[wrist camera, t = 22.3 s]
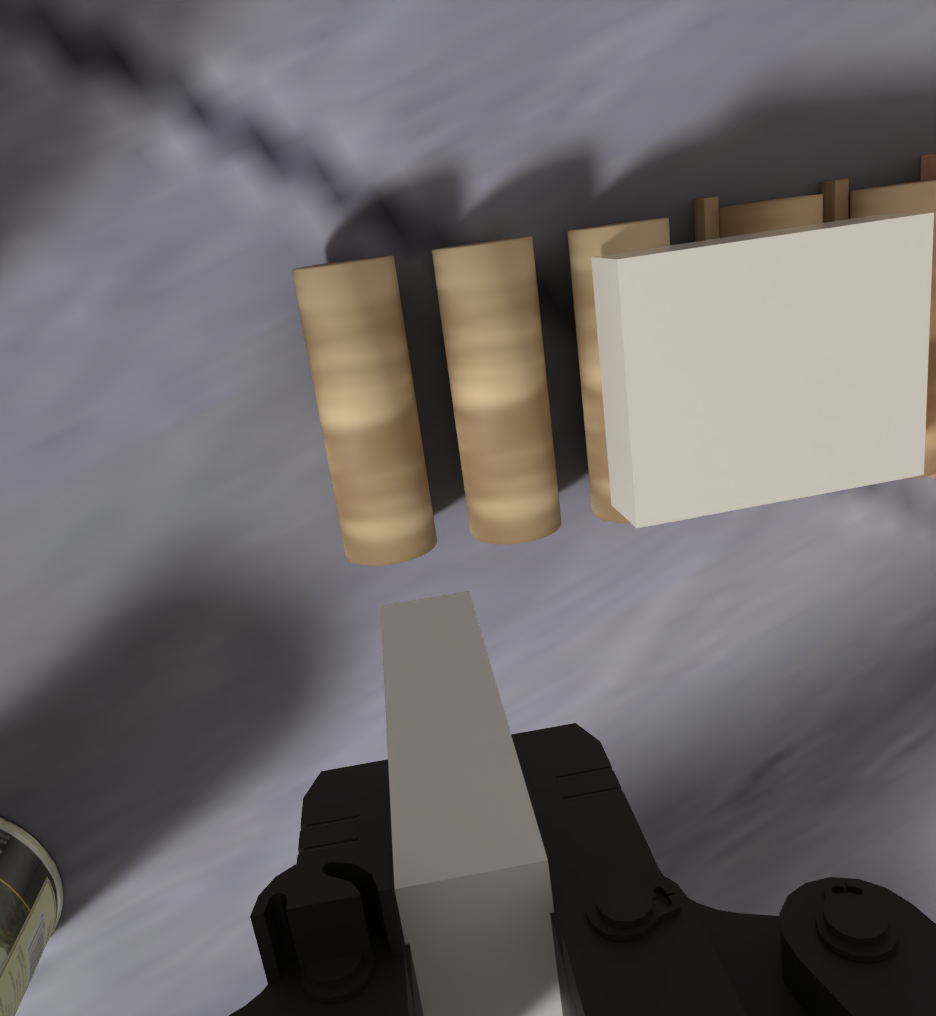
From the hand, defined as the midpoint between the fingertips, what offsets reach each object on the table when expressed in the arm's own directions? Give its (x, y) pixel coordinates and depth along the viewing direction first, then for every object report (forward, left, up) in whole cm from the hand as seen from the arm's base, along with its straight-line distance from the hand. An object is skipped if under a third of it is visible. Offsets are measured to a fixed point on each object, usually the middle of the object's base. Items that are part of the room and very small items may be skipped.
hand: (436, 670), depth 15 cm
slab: (0, -14, -21) cm, 25 cm away
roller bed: (0, -10, -24) cm, 27 cm away
